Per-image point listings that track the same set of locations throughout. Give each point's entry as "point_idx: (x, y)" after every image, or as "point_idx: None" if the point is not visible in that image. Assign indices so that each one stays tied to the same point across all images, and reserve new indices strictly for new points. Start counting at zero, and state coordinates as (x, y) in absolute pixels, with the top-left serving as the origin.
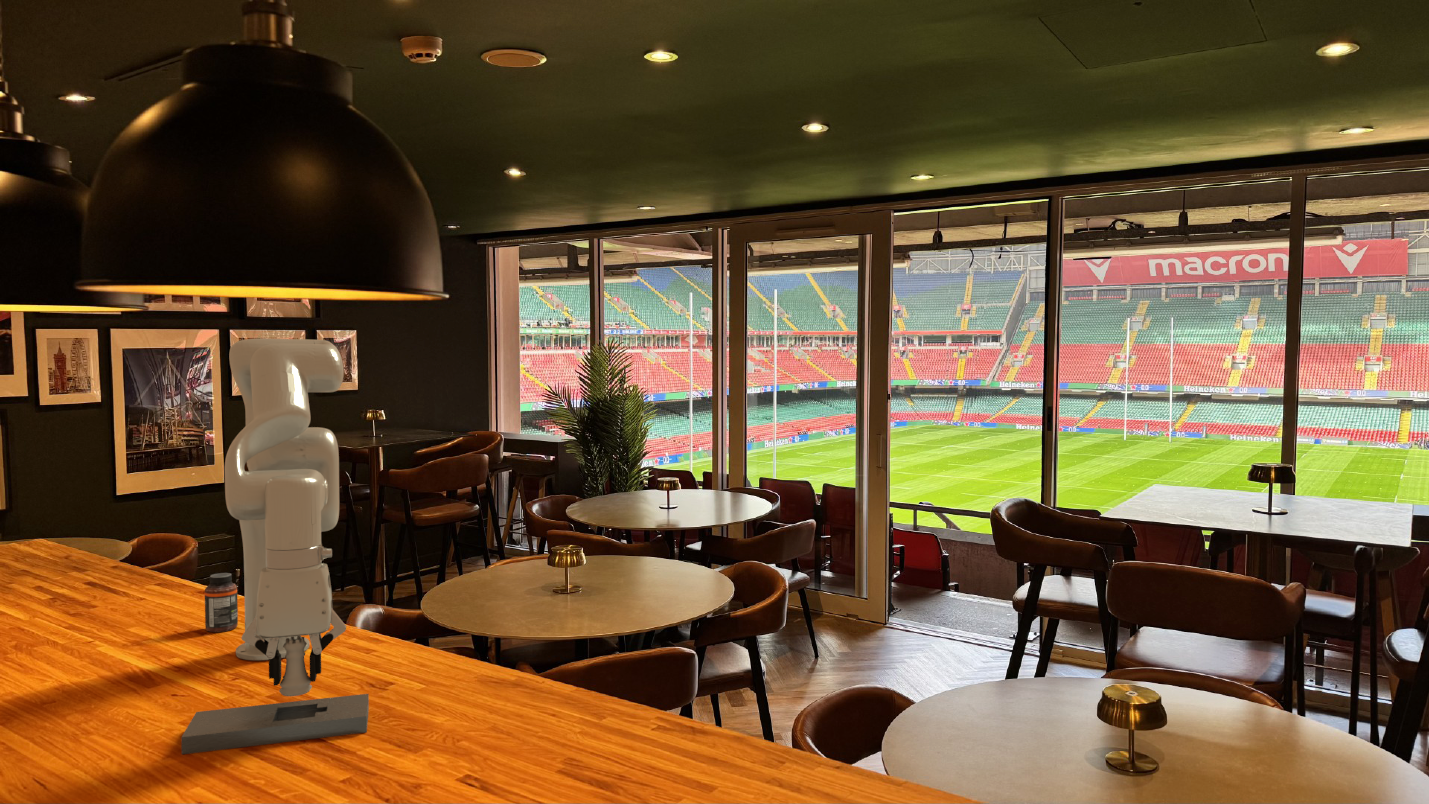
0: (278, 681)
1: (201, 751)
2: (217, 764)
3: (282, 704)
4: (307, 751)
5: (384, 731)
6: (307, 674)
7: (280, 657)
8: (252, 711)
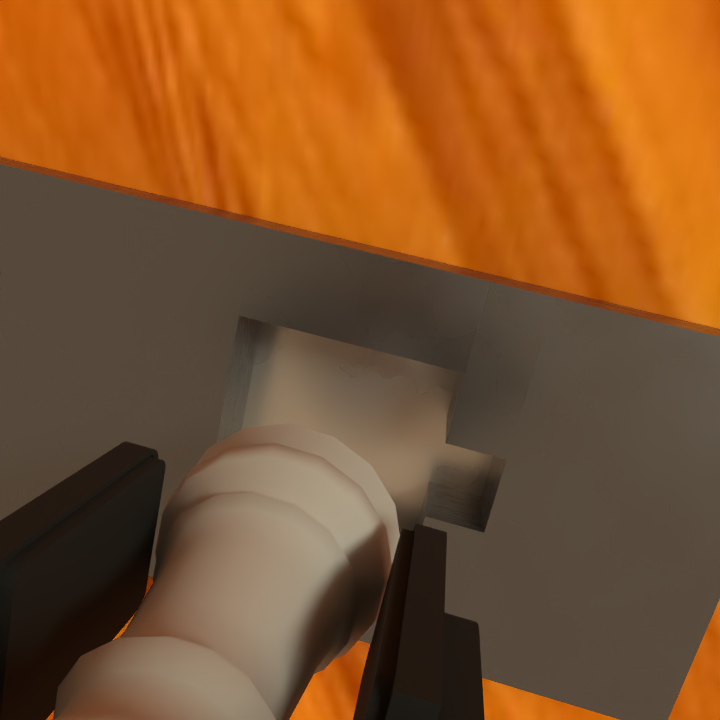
0: (126, 617)
1: None
2: None
3: (270, 266)
4: (351, 708)
5: (716, 701)
6: (347, 637)
7: (29, 613)
8: (110, 292)
